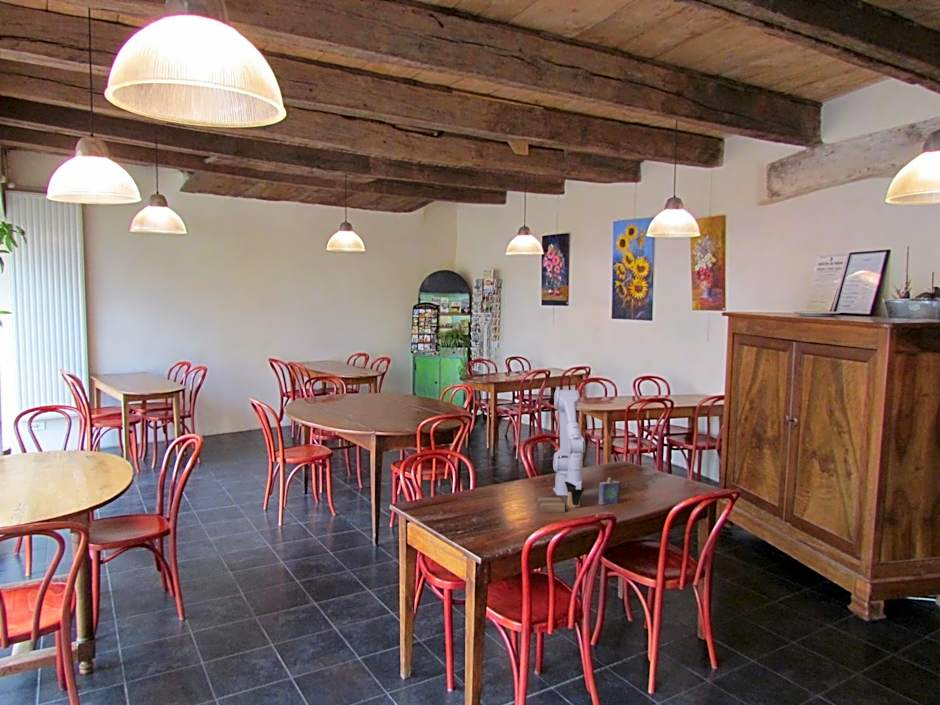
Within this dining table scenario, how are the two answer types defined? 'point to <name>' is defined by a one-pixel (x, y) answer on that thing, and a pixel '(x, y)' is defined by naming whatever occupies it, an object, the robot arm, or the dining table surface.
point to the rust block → (571, 501)
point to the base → (551, 505)
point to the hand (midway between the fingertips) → (573, 501)
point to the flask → (609, 492)
